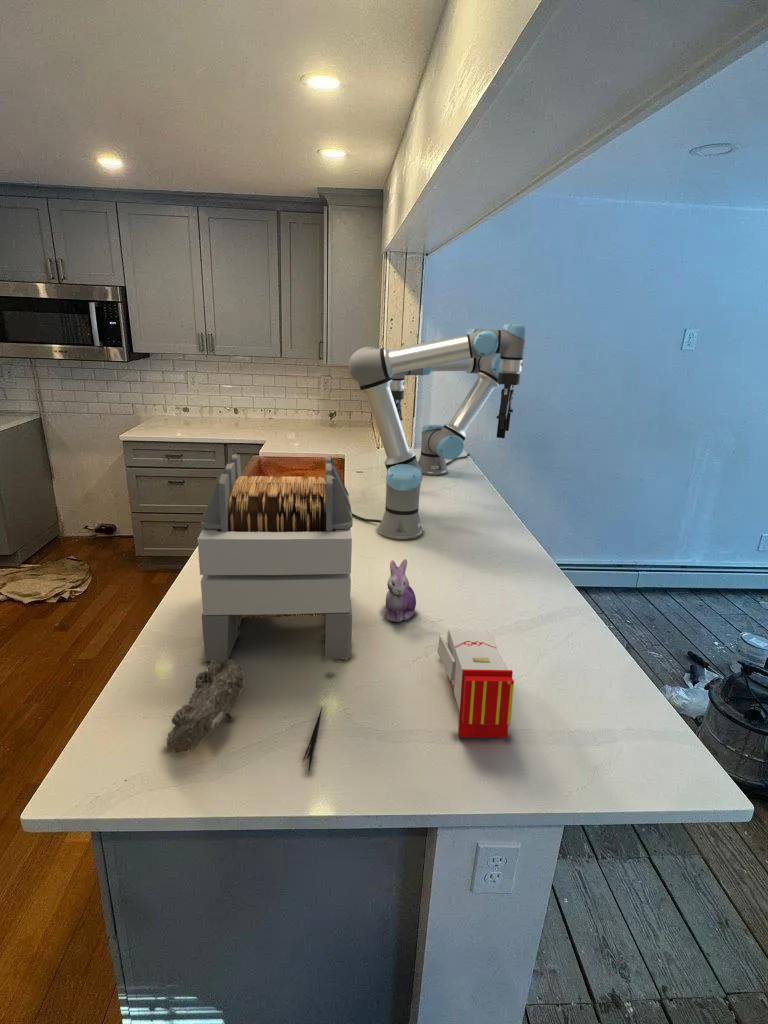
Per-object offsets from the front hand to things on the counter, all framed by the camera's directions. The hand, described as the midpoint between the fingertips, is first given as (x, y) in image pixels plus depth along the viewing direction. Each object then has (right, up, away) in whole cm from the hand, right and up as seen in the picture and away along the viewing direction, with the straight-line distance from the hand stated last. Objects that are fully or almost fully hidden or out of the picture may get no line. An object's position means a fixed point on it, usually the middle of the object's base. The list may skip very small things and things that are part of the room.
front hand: (502, 434), depth 199 cm
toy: (-24, -65, -81) cm, 106 cm away
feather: (-54, -67, -91) cm, 125 cm away
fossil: (-74, -66, -91) cm, 135 cm away
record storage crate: (-67, -55, -58) cm, 104 cm away
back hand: (-37, +5, +52) cm, 64 cm away
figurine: (-38, -54, -52) cm, 84 cm away
